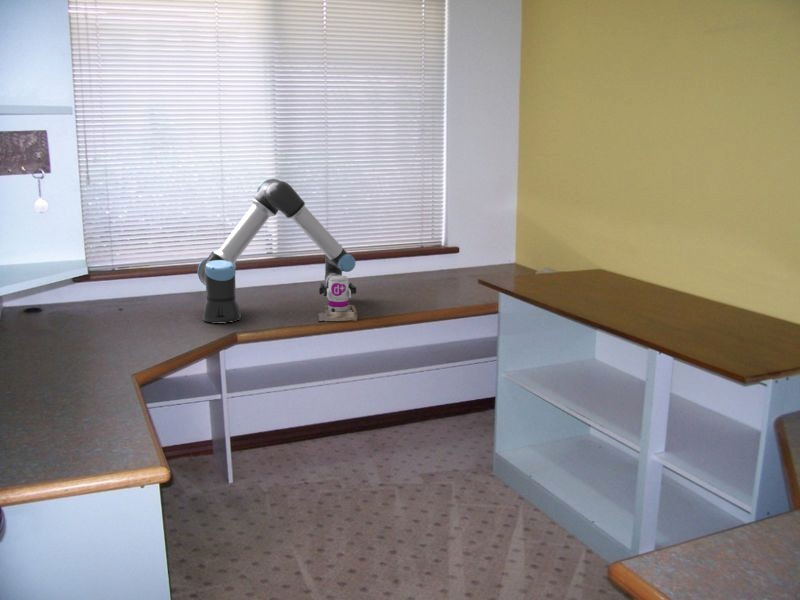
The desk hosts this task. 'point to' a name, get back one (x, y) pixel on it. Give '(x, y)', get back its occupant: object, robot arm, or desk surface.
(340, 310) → the supplement can
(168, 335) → the desk surface
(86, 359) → the desk surface
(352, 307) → the dock
